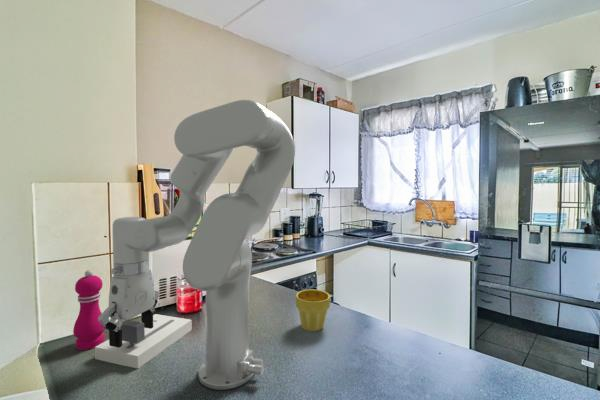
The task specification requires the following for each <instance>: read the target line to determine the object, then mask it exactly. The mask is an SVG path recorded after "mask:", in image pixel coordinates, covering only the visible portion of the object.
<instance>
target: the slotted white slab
mask: <svg viewBox="0 0 600 400" xmlns="http://www.w3.org/2000/svg"><path fill="white" fill-rule="evenodd" d="M192 323H193V320H192V319H188V318H182V317H175V316H169V315H164V314H163V315H162V314H159V313H158V314H157V313H155V314H153V328H151V329H150V328H144V330H145V339H143V340H142V341H140V342H138V343H135V344H133V345H132V344H129V342H127V341H122V346H121V347H119V348H118V347H114V346H110V345H109V339H107V340H104V342H103V343H101V344H100V345H98V346H96V347H95V348H94V358H95V360H97V361H102V362H106V363H111V364H115V365H116V364H117V365H120V366H125V367H128V368H129V367H130V368H133V369H140V368H141V367H142V366H144V365H145V364H147V363H148V362H149V361H151V360H152V359H154V358H155V357H156V356H158V355H159V354H160V353H162V352H163V351H165V350H166V349H168V348H169V347H170V346H171V345H173V344H174V343H175V342H177V341H178V340H180V339H182V338H183V337H184V336H185V335H187V334H188V333H189V332H191V331H192V330H193V324H192Z"/></svg>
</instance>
